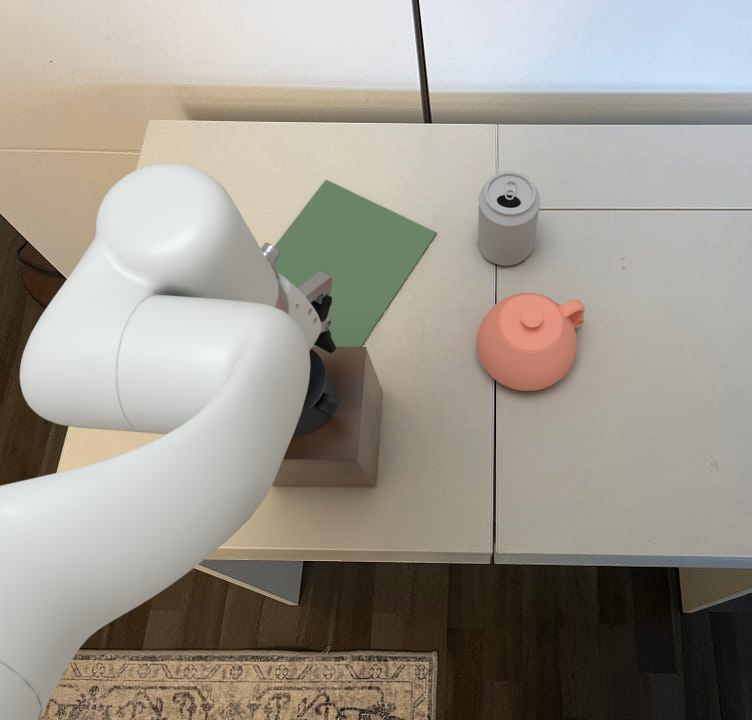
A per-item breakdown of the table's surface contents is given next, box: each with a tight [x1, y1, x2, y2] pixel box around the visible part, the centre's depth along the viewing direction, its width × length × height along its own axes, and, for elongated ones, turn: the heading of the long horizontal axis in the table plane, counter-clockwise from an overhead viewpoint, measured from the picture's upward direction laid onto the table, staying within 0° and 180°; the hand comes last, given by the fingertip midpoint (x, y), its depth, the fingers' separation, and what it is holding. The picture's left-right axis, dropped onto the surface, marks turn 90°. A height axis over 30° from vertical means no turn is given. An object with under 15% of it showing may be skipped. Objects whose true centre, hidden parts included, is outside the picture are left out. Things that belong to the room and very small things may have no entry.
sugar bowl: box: [476, 292, 586, 392], centre depth 79 cm, size 12×14×10 cm
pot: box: [294, 349, 342, 435], centre depth 63 cm, size 7×11×6 cm
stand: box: [271, 346, 384, 489], centre depth 72 cm, size 12×12×14 cm
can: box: [477, 170, 541, 267], centre depth 84 cm, size 8×8×12 cm
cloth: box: [273, 179, 438, 347], centre depth 86 cm, size 28×18×1 cm, turn 151°
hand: (293, 385), depth 63 cm, fingers open, 9 cm apart
